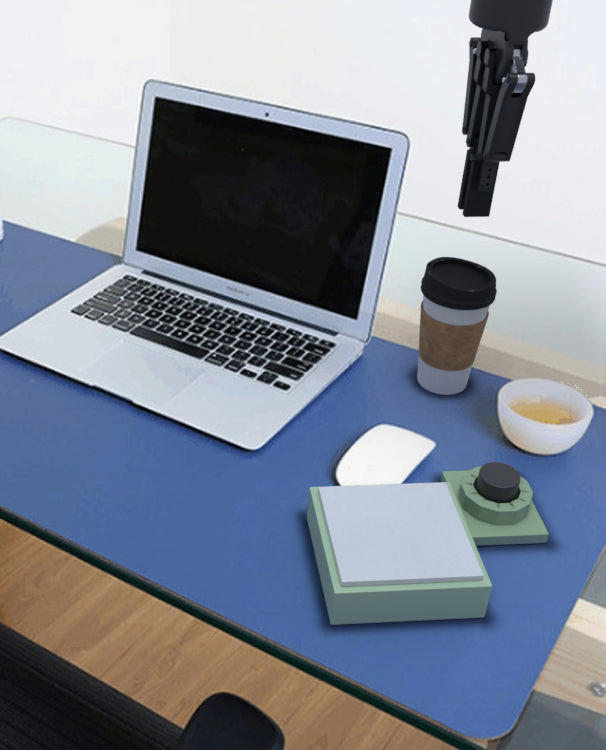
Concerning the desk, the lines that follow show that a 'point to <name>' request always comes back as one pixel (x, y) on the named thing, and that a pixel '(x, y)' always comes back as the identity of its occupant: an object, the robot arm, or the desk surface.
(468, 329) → the coffee cup
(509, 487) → the tare button
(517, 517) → the panel
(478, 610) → the scale
